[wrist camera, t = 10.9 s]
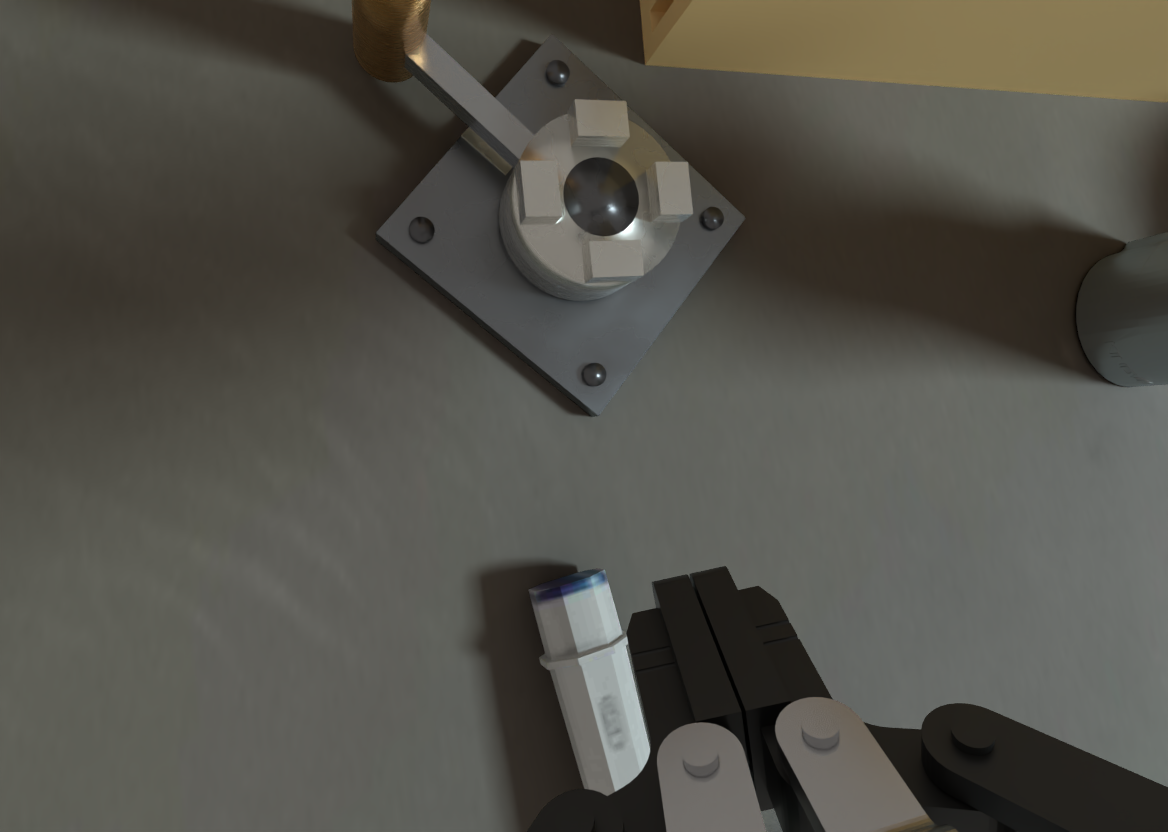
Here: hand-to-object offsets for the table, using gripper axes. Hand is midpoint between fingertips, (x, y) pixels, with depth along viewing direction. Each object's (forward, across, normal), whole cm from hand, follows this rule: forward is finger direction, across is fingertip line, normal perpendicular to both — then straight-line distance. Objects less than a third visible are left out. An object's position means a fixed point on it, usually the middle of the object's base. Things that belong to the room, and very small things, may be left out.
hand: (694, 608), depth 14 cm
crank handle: (+27, -2, +7) cm, 28 cm away
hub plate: (+27, 0, +3) cm, 28 cm away
